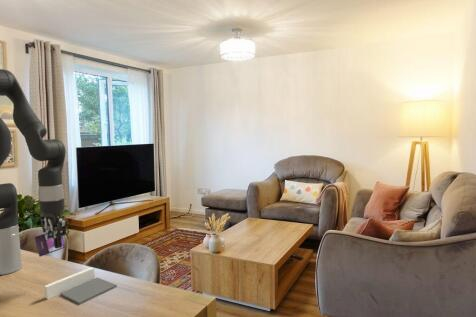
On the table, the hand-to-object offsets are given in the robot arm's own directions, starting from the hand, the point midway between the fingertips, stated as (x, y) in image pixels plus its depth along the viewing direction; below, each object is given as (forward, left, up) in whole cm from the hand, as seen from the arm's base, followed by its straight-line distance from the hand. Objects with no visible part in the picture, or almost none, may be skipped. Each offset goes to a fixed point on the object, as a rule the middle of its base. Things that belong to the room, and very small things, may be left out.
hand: (54, 246), depth 113 cm
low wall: (+9, 0, -13) cm, 16 cm away
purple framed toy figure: (0, -2, -1) cm, 3 cm away
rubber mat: (+16, +2, -13) cm, 21 cm away
